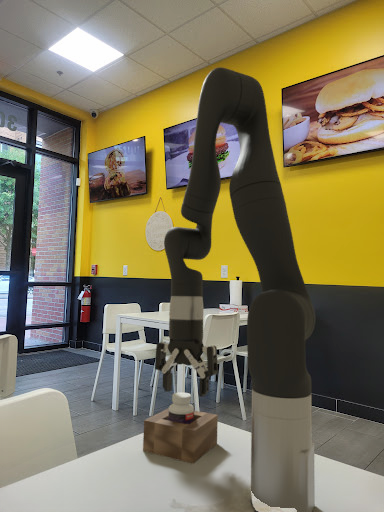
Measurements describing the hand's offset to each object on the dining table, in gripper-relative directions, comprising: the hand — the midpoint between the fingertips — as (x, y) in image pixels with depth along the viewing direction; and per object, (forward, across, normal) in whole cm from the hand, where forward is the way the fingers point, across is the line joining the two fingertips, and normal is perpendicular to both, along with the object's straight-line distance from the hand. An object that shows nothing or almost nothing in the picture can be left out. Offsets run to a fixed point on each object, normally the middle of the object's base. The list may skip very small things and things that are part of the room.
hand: (185, 393), depth 80 cm
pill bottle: (+10, +1, 0) cm, 10 cm away
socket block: (+11, 0, 0) cm, 11 cm away
